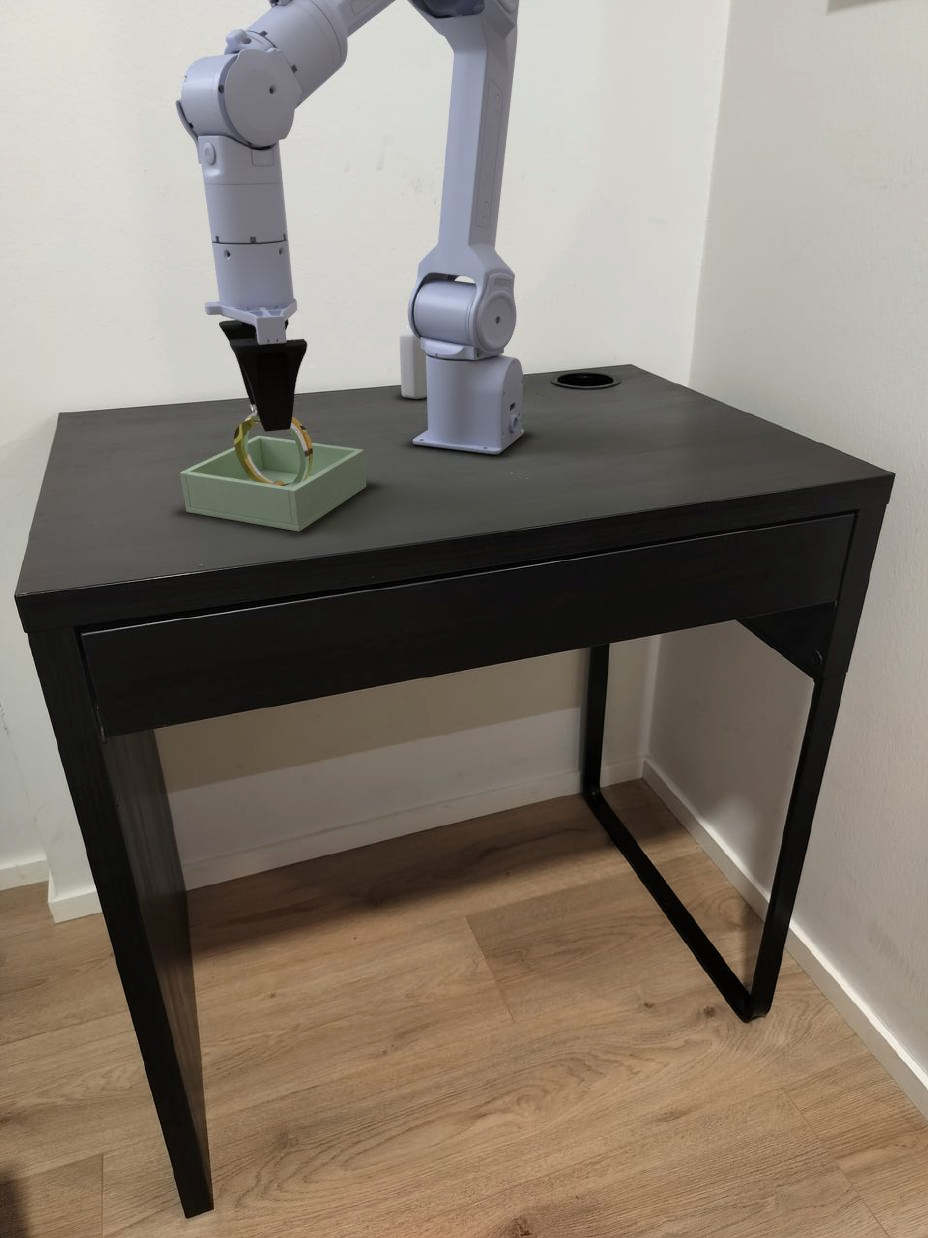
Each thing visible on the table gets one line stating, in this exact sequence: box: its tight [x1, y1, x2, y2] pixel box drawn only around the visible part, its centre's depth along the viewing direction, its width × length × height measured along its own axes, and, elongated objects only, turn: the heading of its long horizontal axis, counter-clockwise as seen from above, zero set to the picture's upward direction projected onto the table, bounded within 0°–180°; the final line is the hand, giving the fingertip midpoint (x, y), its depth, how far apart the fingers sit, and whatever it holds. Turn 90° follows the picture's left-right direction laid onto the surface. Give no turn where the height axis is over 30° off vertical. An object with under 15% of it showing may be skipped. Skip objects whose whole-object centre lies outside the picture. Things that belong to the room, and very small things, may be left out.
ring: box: [233, 403, 313, 488], centre depth 75 cm, size 7×3×8 cm, turn 64°
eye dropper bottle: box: [399, 323, 427, 400], centre depth 105 cm, size 4×6×12 cm
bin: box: [179, 435, 367, 532], centre depth 76 cm, size 11×11×4 cm
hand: (270, 416), depth 74 cm, fingers open, 7 cm apart
